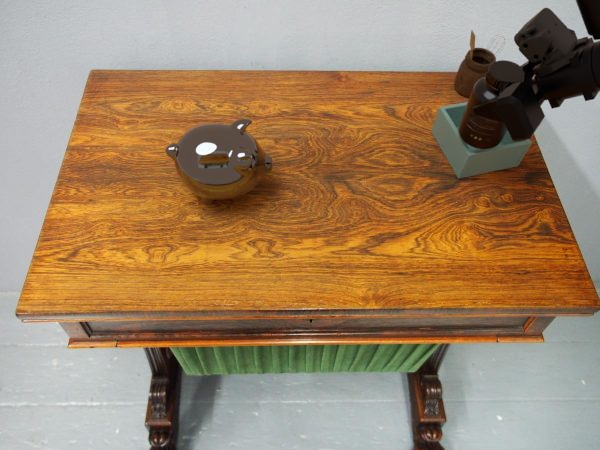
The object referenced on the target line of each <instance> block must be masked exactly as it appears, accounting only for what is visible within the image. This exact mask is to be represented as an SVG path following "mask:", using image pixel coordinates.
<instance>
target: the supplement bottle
mask: <svg viewBox="0 0 600 450" xmlns="http://www.w3.org/2000/svg"><path fill="white" fill-rule="evenodd" d="M524 78H525V72H524V70H523V68H521V65H519V64H518V63H516V62H514V61H512V60H511V61H510V60H503V59H501V60H496V62H493V63H492V64H491V65H490V66H489V69H488V71H487V73H486V75H485V76H484V77H482V78H481V79H479V80H478V81H477V82H476V83H475V85H474V87H473V89H472V92H471V95H470V97H468V100H467V102H468V103H467V105H466V108H465V110H464V113H463V116H462V118H461V121H460V124H459V128H458V131H459V135H460V137H461V139H462V140H463V141H464V142H465V143H466V144H468V145H469V146H471V147H474V148H477V149H491V148H494V147H496V146H498V145H499V144H500V143H501V141H502V140H503V138H504V136H505V134H506V132H507V128H506V125H505V124H504V123H501V122H498V121H495V120H492V119H488V118H485V117H481V116H478V115H475V114H474V112H473V107H475V106H477V105H479V104H481V103H483V102H485V101H488V100H490V99H492V98H495V97H497V96H499V94H500V92H501V91H502V89H503V88H504V87H505V86H506V85H507V83H508V82H510V83H511V85H512V84H514V83H518V82H521V81H522V82H523V80H524Z"/></svg>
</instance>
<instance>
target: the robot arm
mask: <svg viewBox="0 0 600 450" xmlns="http://www.w3.org/2000/svg"><path fill="white" fill-rule="evenodd" d="M575 3H576V6H577V8H578V11H579V13H580V16H581V19H582V21H583V24H584V26H585V29H586V32H587V35H588V36H591V37H588V36H584V37H581V38H578V37H577V33H576V31H575V30H573V29H571V28H569V27H567V25H566V24H565V23H564V22H563V21H562V20H561V18H560V17H559V16H557V14H556V13H555V12H554V11H553V10H552V9H551V8H549V7H543V8H542V9H541V10H540V11H538V12H537V13H536V14H535V15H534V16H533V17H532V18H531V19H529V20H528V21H527V22H526V23H524V25H523V26H522V27H521V28H520V29H519V30H518V32H517V33H515V34H514V36H513V41H514V43H515V45H516V46H517V47H518V51H519V52H520V53H521V54H522V55H523V56H524V57H525V59H526V60H527V61H526V62H524V63H522V64H521V65H520V66H521V68H523V70H524V72H525V78H524V80H523V82H522V81H521V82H518V83H514V84H512V85H511V83H510V82H508V83H507V85H506V86H505V87H504V88H503V89H502V91H501V92H500V94H499V96H497V97H495V98H492V99H490V100H488V101H485V102H483V103H481V104H479V105H477V106H475V107H473V112H474V114H475V115H478V116H481V117H485V118H488V119H492V120H495V121H498V122H501V123H504V124H505V125H506V128H507V130H508V132H509V134H510V136H511V138H512V140H513V141H521V140H526V139H530V140H531V138H532V137H533V135H534V134H535V133H536V131H537V129H538V128H539V127H540V126H541V124H542V123H543V121H544V119H545V117H546V115H545V113H544V111H543V109H542V106H543V104H544V102H545V101H548V103H549V107H550V108H551V109H557V108H560V107H561V106H562V104H563V103H564V101H565V100H568V99H573V98H577V97H583V99H584V101H585V102H587V101H592V100H595V99H596V97H597V96H598V94H599V93H600V0H575Z"/></svg>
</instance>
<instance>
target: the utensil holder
mask: <svg viewBox="0 0 600 450" xmlns="http://www.w3.org/2000/svg"><path fill="white" fill-rule="evenodd" d="M470 32H471V33H470V38H469V47H470V48H469V50H468V51H467V53H466V54H465V56H464V59H463V60H462V61H461V62H460V65H459V67H458V70H457V73H456V75H455V78H454V80H453V87H454V89H455V91H456V92H457V93H458V94H459V95H461V96H463V97H466V98H469V97H470V95H471V92H472V89H473V87H474V85H475V83H476V82H477V81H478V80H479V79H481V78H482V77H484V76H485V75H486V73H487V71H488V69H489V66H490V65H491V64H492V63H493V62H496V61H497V56H498V55H499V54H500V53H501V51H502V50H503V48H504V46H505V45H506V38H505V36H503V35H501V34H498V35H496V37H495V36H494V37H492V39H494V40H490V41H489V43H488V45H489V46H492V43H493V42H494V41H495V40H496V39H497V37H498V38H499V37H500V38H499V39H498V40H497V42H496V44H495V45H496V46H494V47H493V49H492V50H490V49H491V48H489V46H487V47H486V48H484V47H476V34H475V32H474V29H471V31H470ZM503 39H504V40H503ZM501 40H502V41H501ZM500 41H501V45H500V46H499V48H498V50H497V51H496V54H494V53H493V52H494V50H495V49H496V48H497V46H498V45H499V43H498V42H500Z"/></svg>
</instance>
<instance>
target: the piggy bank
mask: <svg viewBox="0 0 600 450" xmlns="http://www.w3.org/2000/svg"><path fill="white" fill-rule="evenodd" d="M252 123H253V120H252V119H250V118H238V119H235V120H234V121H232V123H223V122H207V123H202V124H198V125H195V126H193V127H191V128H189V129H188V130H187V131H185V132H184V133H183V134H182V135H181V136H180V137H179V139H178V141H177V142H171V143H170V144H168V145H167V146H166V147H165V150H164V152H165V154H166V156H167V157H169V158H170V159H171V160H172V161H173V164H174V168H175V171H176V174H177V176H178V178H179V180H180V181H181V183H182V184H183V186H184V187H185V188H186V189H187V190H188V191H189V192H191V193H192V194H194V195H196V196H197V197H200V201H201V203H202V204H203V205H204V206H207V205H211V204H212V203H214V200H215V201H219V200H229V199H230V200H231V201H232V202H233V203H236V204H240V203H242V202H243V200H244V197H245V195H246V194H247V193H249V192H251V191H252V190H253V189H254V188H255V187H256V186H258V185H259V184H260V183H261V182H262V181H263V179H264V178H265V177H266V176H268V175H269V174H270V173H272V171H273V167H274V166H273V165H274V161H273V157H272V156H271V155H269V154H268V153H267V152H266V151H264V149H263V147H262V146H261V144H260V143H259V141H258V140H257V139H256V138H255V137H254V135H252V133H250V132H248V131H247V128H248V127H249V126H250V125H251V124H252Z"/></svg>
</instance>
